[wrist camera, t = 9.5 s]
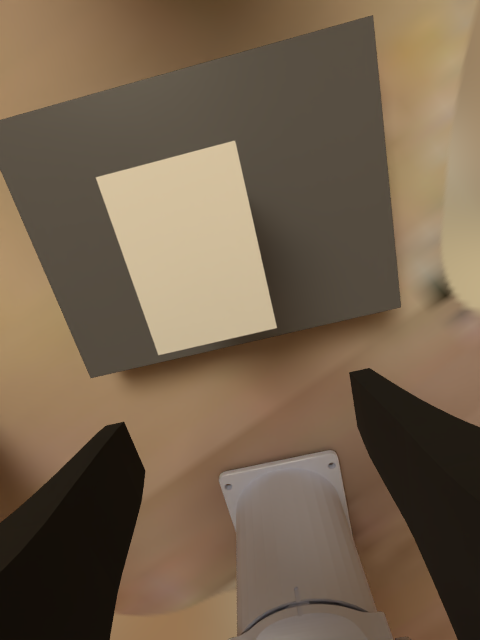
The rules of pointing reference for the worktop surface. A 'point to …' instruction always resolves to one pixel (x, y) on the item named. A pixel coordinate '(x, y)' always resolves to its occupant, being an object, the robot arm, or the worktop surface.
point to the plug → (191, 247)
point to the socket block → (259, 177)
